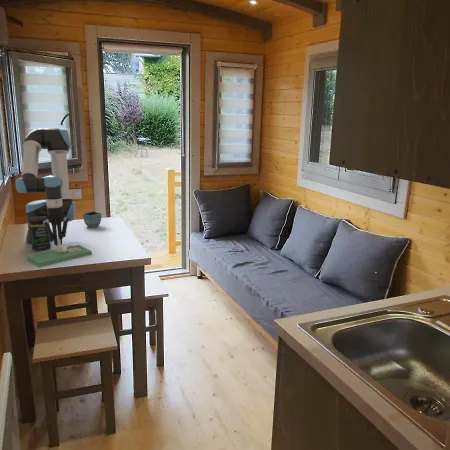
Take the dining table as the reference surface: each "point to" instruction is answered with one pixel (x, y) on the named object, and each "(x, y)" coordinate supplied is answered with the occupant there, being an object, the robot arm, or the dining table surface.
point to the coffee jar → (39, 234)
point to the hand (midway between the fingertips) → (59, 250)
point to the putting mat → (58, 255)
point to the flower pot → (92, 219)
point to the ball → (63, 249)
